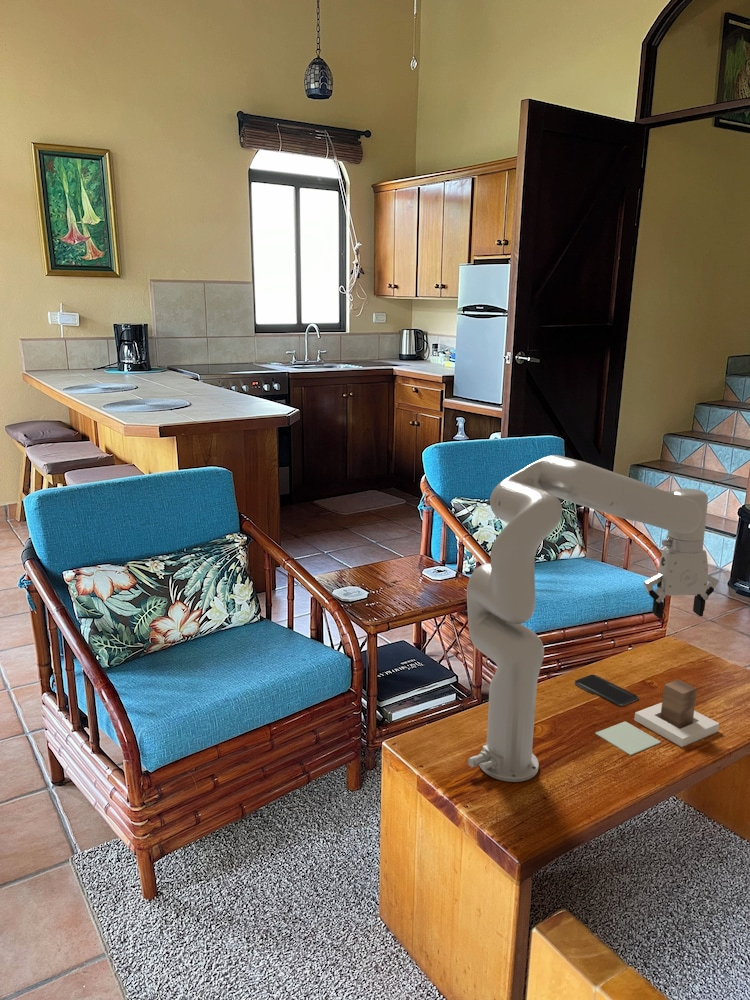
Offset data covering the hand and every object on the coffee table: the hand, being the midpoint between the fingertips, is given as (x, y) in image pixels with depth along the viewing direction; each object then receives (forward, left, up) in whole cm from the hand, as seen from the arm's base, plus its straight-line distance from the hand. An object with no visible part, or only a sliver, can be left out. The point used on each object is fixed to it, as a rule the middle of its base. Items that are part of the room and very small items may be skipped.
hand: (677, 615), depth 169 cm
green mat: (-15, -2, -26) cm, 30 cm away
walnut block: (-1, -4, -26) cm, 26 cm away
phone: (-2, +16, -27) cm, 32 cm away
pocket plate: (-1, -4, -26) cm, 27 cm away
